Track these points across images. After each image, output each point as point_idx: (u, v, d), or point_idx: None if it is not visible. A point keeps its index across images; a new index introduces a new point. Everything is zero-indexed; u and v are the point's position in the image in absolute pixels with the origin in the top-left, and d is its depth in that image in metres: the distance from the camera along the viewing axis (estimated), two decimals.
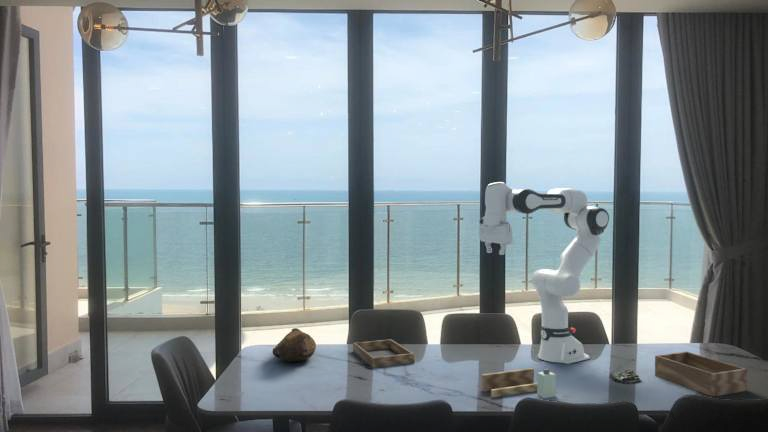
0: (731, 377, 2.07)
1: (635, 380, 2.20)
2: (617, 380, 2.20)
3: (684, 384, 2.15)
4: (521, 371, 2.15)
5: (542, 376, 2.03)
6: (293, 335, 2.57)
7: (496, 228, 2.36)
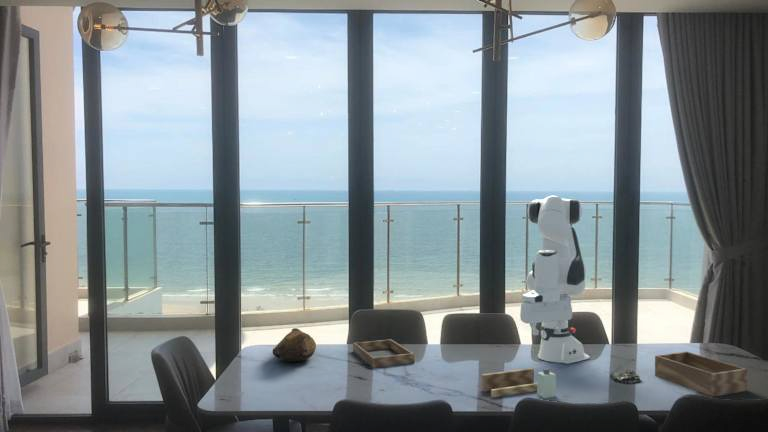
0: (731, 377, 2.07)
1: (635, 380, 2.20)
2: (617, 380, 2.20)
3: (684, 384, 2.15)
4: (521, 371, 2.15)
5: (542, 376, 2.03)
6: (293, 335, 2.57)
7: (557, 304, 2.04)
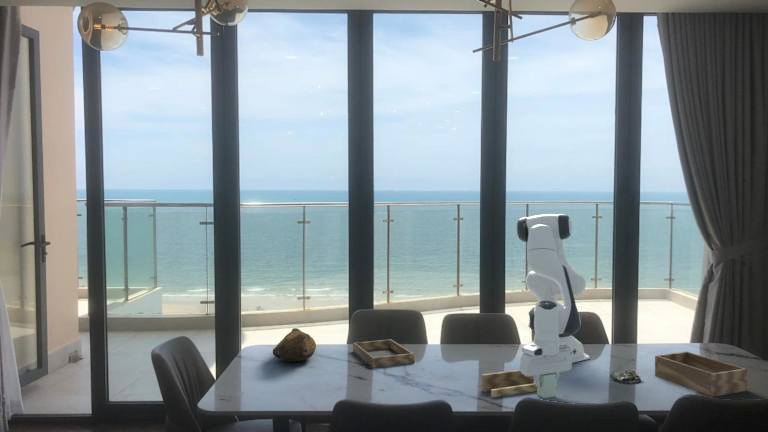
0: (731, 377, 2.07)
1: (636, 380, 2.20)
2: (617, 380, 2.20)
3: (684, 384, 2.15)
4: None
5: (542, 376, 2.03)
6: (293, 335, 2.57)
7: (557, 355, 2.05)
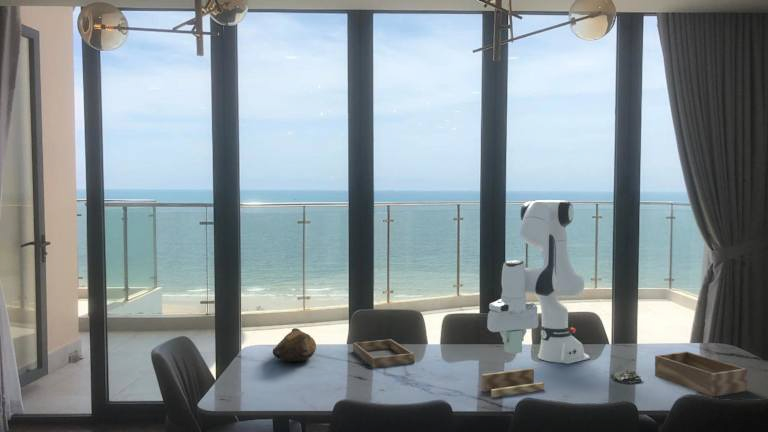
0: (731, 377, 2.07)
1: (636, 381, 2.19)
2: (617, 380, 2.20)
3: (684, 384, 2.15)
4: (521, 371, 2.15)
5: (509, 333, 2.08)
6: (293, 335, 2.57)
7: (524, 313, 2.10)
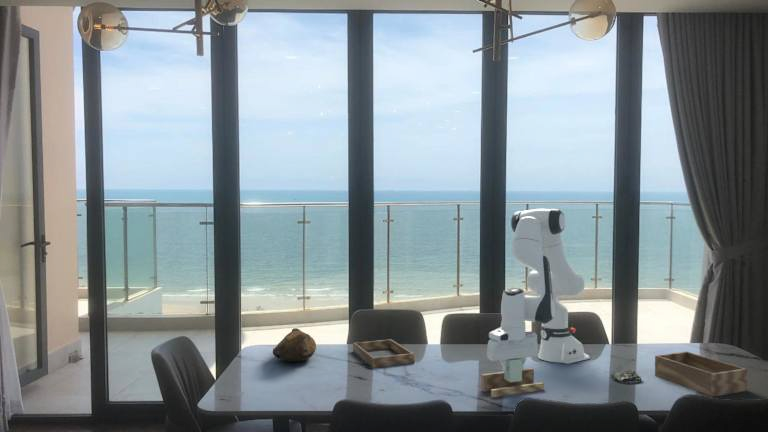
0: (731, 377, 2.07)
1: (636, 381, 2.19)
2: (617, 380, 2.20)
3: (684, 384, 2.15)
4: None
5: (508, 361, 2.09)
6: (293, 335, 2.57)
7: (523, 341, 2.10)
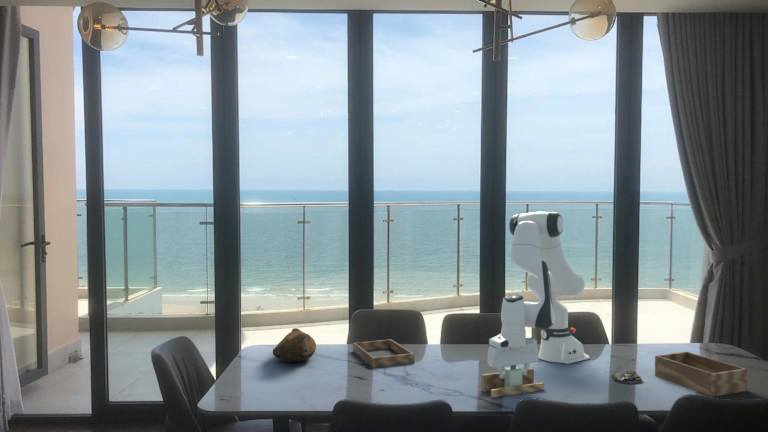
0: (731, 377, 2.07)
1: (636, 381, 2.19)
2: (617, 380, 2.20)
3: (684, 384, 2.15)
4: None
5: (509, 372, 2.09)
6: (293, 335, 2.57)
7: (524, 347, 2.10)
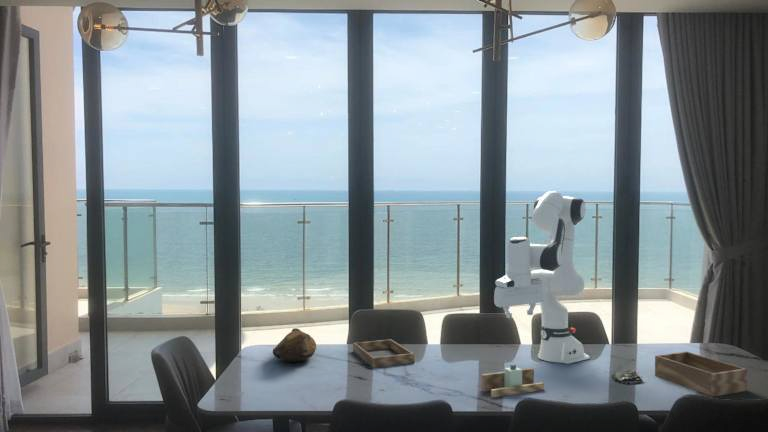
0: (731, 377, 2.07)
1: (636, 381, 2.19)
2: (618, 380, 2.20)
3: (684, 384, 2.15)
4: None
5: (509, 372, 2.09)
6: (293, 335, 2.57)
7: (529, 287, 2.15)
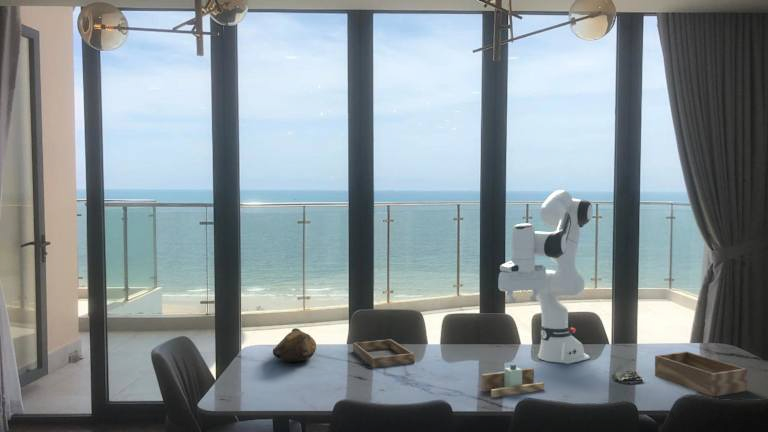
0: (731, 377, 2.07)
1: (636, 381, 2.19)
2: (618, 380, 2.20)
3: (684, 384, 2.15)
4: None
5: (509, 372, 2.09)
6: (293, 335, 2.57)
7: (533, 273, 2.19)
